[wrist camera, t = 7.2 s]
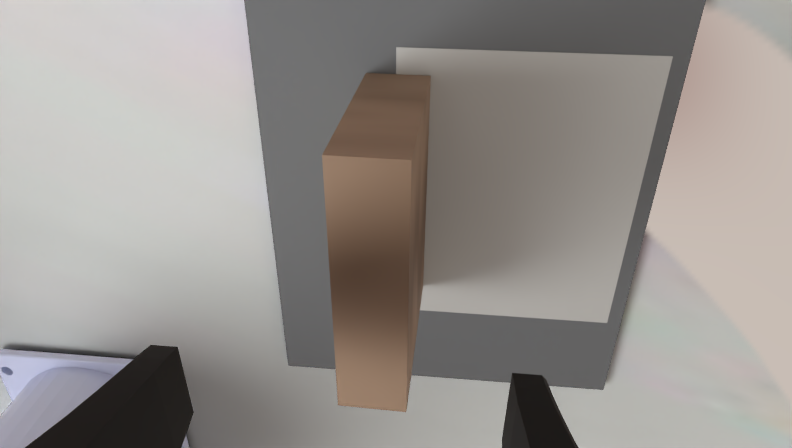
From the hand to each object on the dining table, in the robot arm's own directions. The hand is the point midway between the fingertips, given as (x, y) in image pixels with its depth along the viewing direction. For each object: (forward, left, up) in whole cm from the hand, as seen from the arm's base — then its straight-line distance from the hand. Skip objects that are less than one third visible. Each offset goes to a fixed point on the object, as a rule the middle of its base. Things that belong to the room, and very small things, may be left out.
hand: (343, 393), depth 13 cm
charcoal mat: (0, -2, -9) cm, 10 cm away
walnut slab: (0, 0, -9) cm, 9 cm away
